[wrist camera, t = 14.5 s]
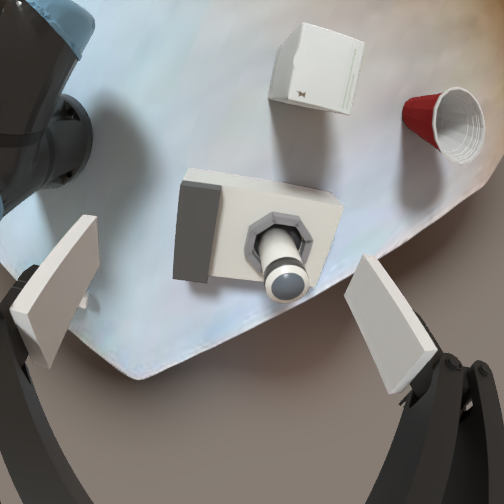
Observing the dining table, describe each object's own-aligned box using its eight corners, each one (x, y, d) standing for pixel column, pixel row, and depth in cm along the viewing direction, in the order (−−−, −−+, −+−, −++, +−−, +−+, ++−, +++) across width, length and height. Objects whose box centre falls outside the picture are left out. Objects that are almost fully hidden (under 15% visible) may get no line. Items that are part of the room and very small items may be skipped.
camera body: (179, 250, 48) (172, 278, 41) (188, 167, 41) (180, 185, 34) (306, 266, 52) (318, 295, 45) (330, 192, 45) (349, 212, 38)
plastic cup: (446, 99, 37) (495, 111, 26) (428, 153, 42) (473, 176, 32) (399, 70, 35) (447, 71, 24) (380, 129, 40) (424, 147, 30)
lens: (254, 256, 43) (261, 302, 34) (261, 224, 40) (271, 265, 31) (288, 260, 43) (302, 306, 35) (297, 229, 41) (316, 271, 32)
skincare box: (309, 108, 38) (351, 121, 25) (263, 98, 37) (284, 103, 24) (321, 55, 34) (369, 42, 20) (275, 44, 33) (302, 20, 19)
